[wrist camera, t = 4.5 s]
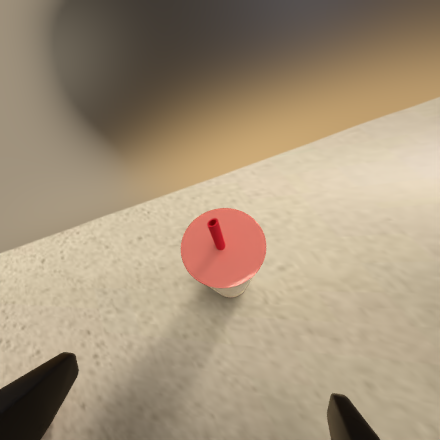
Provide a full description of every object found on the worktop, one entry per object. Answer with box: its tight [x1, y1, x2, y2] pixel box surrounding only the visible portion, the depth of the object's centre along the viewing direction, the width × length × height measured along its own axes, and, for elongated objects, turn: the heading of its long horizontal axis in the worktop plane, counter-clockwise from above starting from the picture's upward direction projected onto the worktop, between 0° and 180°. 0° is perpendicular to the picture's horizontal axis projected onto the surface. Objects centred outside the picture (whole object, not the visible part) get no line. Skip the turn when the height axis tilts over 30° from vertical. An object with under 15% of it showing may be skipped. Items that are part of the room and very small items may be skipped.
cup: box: [181, 208, 266, 297], centre depth 17 cm, size 5×5×12 cm
